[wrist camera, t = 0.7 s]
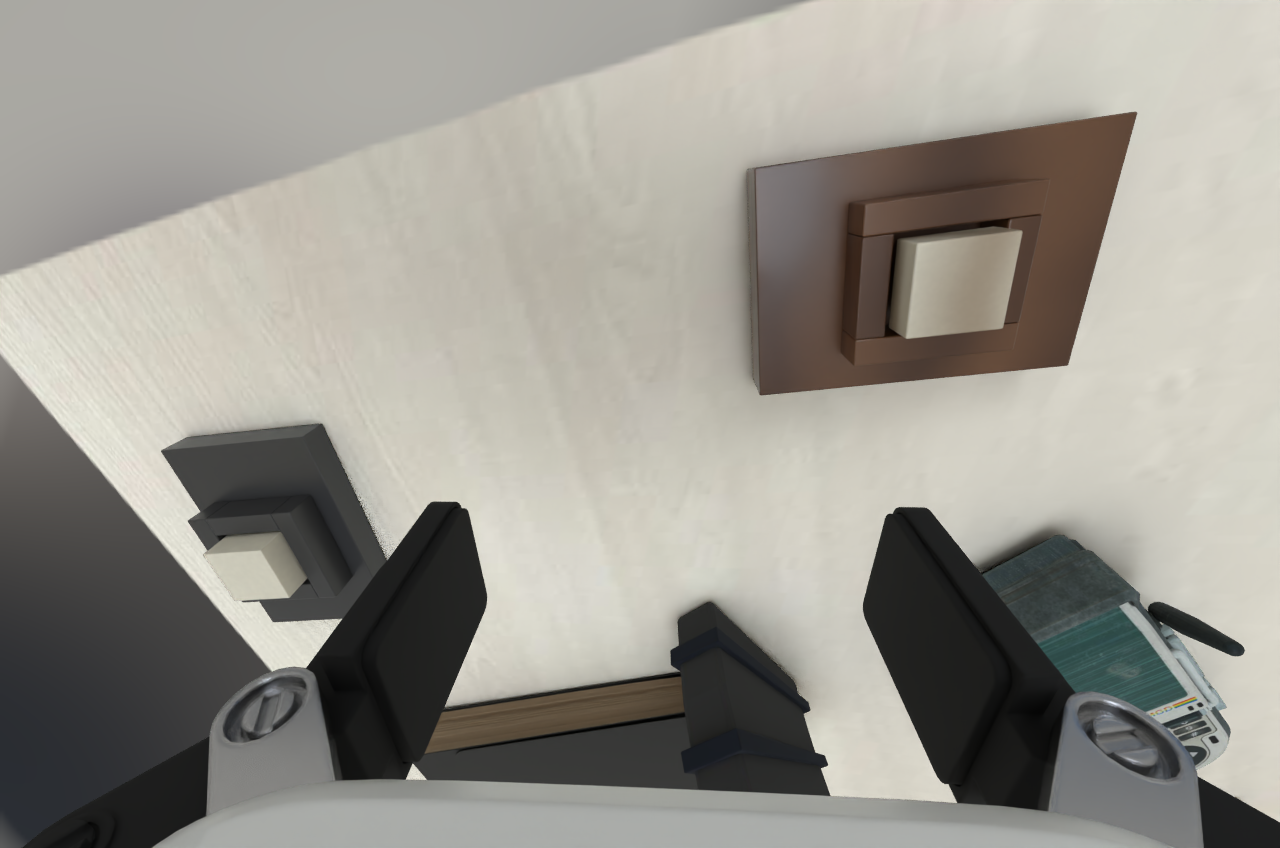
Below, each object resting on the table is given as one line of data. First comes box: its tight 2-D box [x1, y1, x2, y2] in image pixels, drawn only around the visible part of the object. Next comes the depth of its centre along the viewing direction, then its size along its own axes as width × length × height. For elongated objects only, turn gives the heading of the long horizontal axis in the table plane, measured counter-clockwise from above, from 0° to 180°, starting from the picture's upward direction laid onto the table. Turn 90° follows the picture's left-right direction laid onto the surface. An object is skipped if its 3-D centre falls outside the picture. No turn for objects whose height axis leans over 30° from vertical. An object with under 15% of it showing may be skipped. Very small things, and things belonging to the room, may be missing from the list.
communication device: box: [982, 535, 1245, 770], centre depth 29 cm, size 12×24×9 cm, turn 45°
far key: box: [203, 531, 307, 601], centre depth 28 cm, size 4×4×2 cm
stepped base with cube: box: [161, 424, 387, 622], centre depth 30 cm, size 14×9×4 cm, turn 7°
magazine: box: [670, 602, 830, 796], centre depth 30 cm, size 4×13×15 cm, turn 40°
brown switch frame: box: [747, 112, 1137, 395], centre depth 21 cm, size 14×10×4 cm
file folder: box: [413, 672, 698, 790], centre depth 43 cm, size 33×4×24 cm
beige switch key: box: [889, 226, 1023, 339], centre depth 19 cm, size 4×4×2 cm
